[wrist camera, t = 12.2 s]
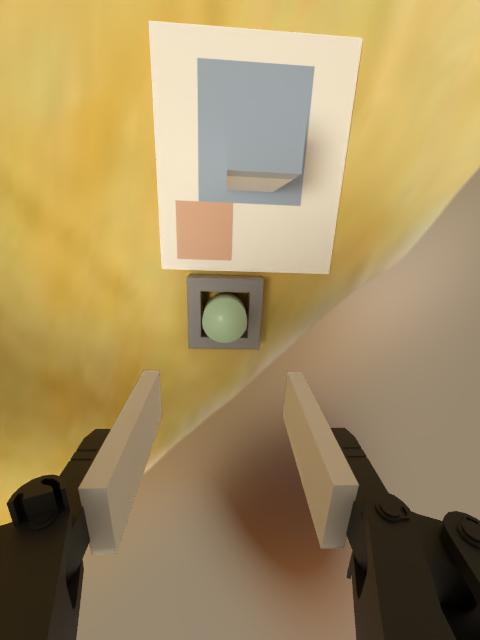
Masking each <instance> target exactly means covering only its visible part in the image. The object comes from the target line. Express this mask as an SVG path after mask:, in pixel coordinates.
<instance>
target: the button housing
mask: <svg viewBox="0 0 480 640" xmlns="http://www.w3.org/2000/svg"><path fill="white" fill-rule="evenodd" d="M263 286H264V280H263V278H262V276H240V275H207V274H189V275H188V277H187V306H188V348H192V349H257V350H259V345H260V330H261V315H262V301H263ZM202 291H211V292H248V309H247V329H246V331H245V332H244V333H243V335H242V336H241V337H240V338H238V339H237V340H235V341H233V342H229V343H220V342H217V341H214V340H212V339H211V338H210V337H208V335H207V334H206V333H205V331H204V330H202Z"/></svg>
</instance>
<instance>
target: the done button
mask: <svg viewBox="0 0 480 640" xmlns="http://www.w3.org/2000/svg"><path fill="white" fill-rule="evenodd" d="M202 326H203V329H204V331H205V333H206V334H207V335H208V337H210V338H211V339H212V340H214V341H217V342H220V343H229V342H233V341H235V340H237V339H238V338H240V337H241V336H242V335H243V333H244V332H245V330H246V327H247V316H246V311H245V307H244V305H243V303H242V301H241V300H240V299H239V298H238V297H236V296H234V295H232V294H228V293H222V294H217V295H215V296H213V297H212V298H211V299H210V300H209V301H208V302H207V304H206V306H205V309H204V314H203V318H202Z"/></svg>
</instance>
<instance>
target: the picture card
mask: <svg viewBox="0 0 480 640" xmlns="http://www.w3.org/2000/svg"><path fill="white" fill-rule="evenodd" d="M149 36H150V55H151V74H152V93H153V112H154V131H155V150H156V168H157V187H158V206H159V225H160V244H161V263H162V269H179V270H211V271H243V272H275V273H308V274H329V270H330V263H331V256H332V249H333V242H334V235H335V228H336V221H337V214H338V207H339V200H340V193H341V186H342V180H343V173H344V166H345V159H346V152H347V145H348V138H349V131H350V124H351V117H352V110H353V103H354V96H355V89H356V82H357V75H358V68H359V61H360V54H361V47H362V40H363V38H359V37H347V36H334V35H322V34H309V33H297V32H284V31H272V30H259V29H247V28H234V27H222V26H209V25H197V24H185V23H172V22H160V21H149ZM229 77H235V78H248V79H261V80H274V81H287V82H300V83H311V87H310V97H309V106H308V116H307V125H306V135H305V145H304V154H303V164H302V174H301V175H299V176H298V177H296V178H295V179H293V180H291V181H290V182H288V183H287V184H285V185H284V186H282V187H280V188H279V189H277V190H276V191H274V192H255V191H236V190H227V147H228V107H229Z"/></svg>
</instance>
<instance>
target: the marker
mask: <svg viewBox="0 0 480 640" xmlns="http://www.w3.org/2000/svg"><path fill="white" fill-rule="evenodd" d="M310 87H311V83H300V82H287V81H274V80H261V79H248V78H235V77H229V107H228V147H227V190H236V191H255V192H274V191H276V190H277V189H279V188H280V187H282V186H284V185H285V184H287V183H288V182H290V181H291V180H293V179H295V178H296V177H298V176H299V175H301V174H302V164H303V154H304V145H305V135H306V125H307V116H308V106H309V97H310Z"/></svg>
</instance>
